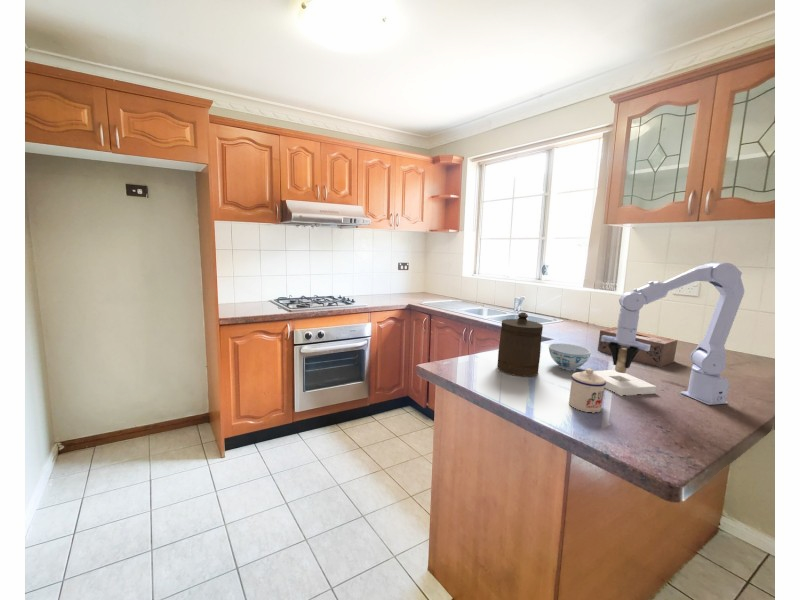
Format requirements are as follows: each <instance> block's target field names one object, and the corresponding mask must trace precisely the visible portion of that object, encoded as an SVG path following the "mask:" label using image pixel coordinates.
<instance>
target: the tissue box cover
mask: <svg viewBox="0 0 800 600" xmlns="http://www.w3.org/2000/svg"><path fill="white" fill-rule="evenodd" d="M616 333H617V327H615V326H614V327H610V328H603V329H600V330H599V337H598V345H597V351H598V352H602V353H606V354H610V355H612V353H611V351H610V348H609V344H610V342H603V341H601V338H602V336H603V335H606V336H612V337H616ZM678 340H679V339H675V338H671V337H666V336H660V335H655V334H650V333H646V332H640V331H637V332H636V339H635V341H638V342H641V343H645V344H649V345H651V346H650V350H649V351H644V350H642V349H640V350H639V352H638V353H637V354H636V355H635V357H634V358H633V360H632V361H637V362H640V363H643V364H644V363H645V364H647V365H651V364H652V366H655V365H656V367H659V366H660V367H659V368H662V367H664V366H666V364H667V365H669V364H672V363H674V362H675V359H676V351H677V344H678ZM621 348H625V349H627V348H630V347H628V346H624V345H621ZM673 361H674V362H673ZM671 362H672V363H671ZM668 363H669V364H668ZM661 366H662V367H661Z"/></svg>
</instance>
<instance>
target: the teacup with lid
mask: <svg viewBox="0 0 800 600" xmlns="http://www.w3.org/2000/svg"><path fill="white" fill-rule="evenodd" d="M593 371H594V369H592V368H589V367H588V368H585V370H583V371H577V372H574V373H573V374H571V376H570V377H571V383H570V390H569V397H568V404H569V406H570V405H571V406H572V407H571V406H570V407H571V408H573V407H574V408H573V409H575V408H576V409H575V410H577V409H578V410H577V411H579V410H581V411H580V412H582V411H585V412H584V413H587V412H592V413H591V414H596V413H595V412H597V413H600V412H601V411H602V406H603V398H604V393H605V392H604V391H605V388H604V386H605V384H606V382H605V380H604V379H603V378H602V377H600V376H598V375H597V374H595V373H593Z"/></svg>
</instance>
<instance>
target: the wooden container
mask: <svg viewBox="0 0 800 600" xmlns="http://www.w3.org/2000/svg"><path fill="white" fill-rule="evenodd" d="M517 316H518V317H517V318H508V319H502V320H501V327H500V338H499V343H498V350H497V351H498V353H497V369H498V370H499V371H501V372H502V373H505V374H508V375H511V376H516V377H526V376H527V377H535V376H537V375H538V374H539V368H540V358H541V347H542V336H543V335H542V334H543V328H544V326H543V324H542V323H539V322H537V321H533V320H528V318H529V315H528V314H527V313H526V312H520V313H518V315H517Z"/></svg>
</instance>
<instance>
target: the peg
mask: <svg viewBox="0 0 800 600" xmlns="http://www.w3.org/2000/svg"><path fill="white" fill-rule="evenodd" d="M626 360H627V349H625V348H619V350H618V357H617V363H616V365H615V368H614V370H615V371H616V372H619V373H626V374H627V369H628V368H625V365H626Z"/></svg>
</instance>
